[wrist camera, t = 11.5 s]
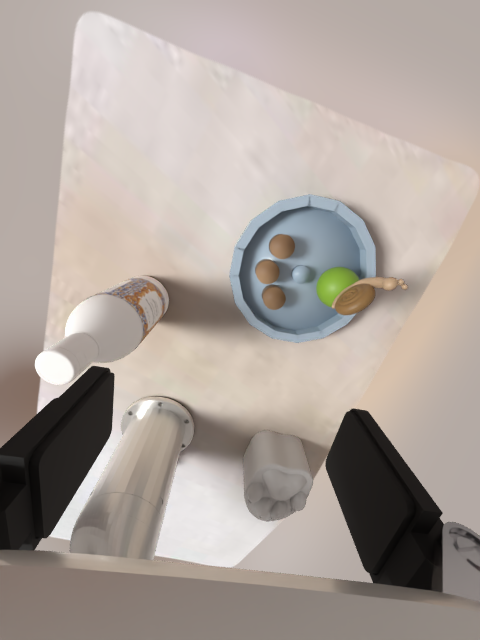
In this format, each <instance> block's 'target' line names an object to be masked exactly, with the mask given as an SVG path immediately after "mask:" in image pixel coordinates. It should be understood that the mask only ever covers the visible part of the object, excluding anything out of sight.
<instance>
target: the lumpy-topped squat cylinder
mask: <svg viewBox="0 0 480 640" xmlns="http://www.w3.org/2000/svg"><path fill="white" fill-rule="evenodd" d="M243 473H244V498H245V502H246V505H247V507H248V509H249V511H250V512H251V513H252V514H253V515H254V516H255V517H256V518H258V519H260V520H263V521H274V520H280V519H282V518H285V517H287V516H289V515H290V514H293V513H294V512H296V511H300V510H302V509H303V508H304V507H305V504H306V499H307V497H308V495H309V492H310V490H311V487H312V484H313V477H312V474H311V471H310V468H309V464H308V461H307V458H306V455H305V451H304V448H303V445H302V442H301V440H300V439H299V438H298V437H296V436H292V435H283V434H279V433H276V432H274V431H270V430H264V431H261V432H258V433H257V434H255V435H254V436H253V438H252V439H251V441H250V443H249V445H248V447H247V449H246V451H245V454H244V458H243Z"/></svg>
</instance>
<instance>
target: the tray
mask: <svg viewBox="0 0 480 640" xmlns="http://www.w3.org/2000/svg"><path fill="white" fill-rule="evenodd" d="M277 234H285V235H288V236H290V237H291V238H292V239H293V240H294V243H295V250H294V252H293V254H292V255H291V256H290V257H289V258H286V259H278V258H276V257H275V256H273V255H272V254H271V253H270V251H269V242H270V240H271V238H272V237H273V236H275V235H277ZM263 259H270V260H272V261H273V262H274V263H275V264H276V265H277V266H278V268H279V272H280V273H279V277H278V279H277V280H276V281H275V282H274V283H272V284H274V285H277V286H279V287H280V288H281V290H282V291H283V292H284V294H285V297H286V301H285V303H284V305H283V306H282V307H281V308H280V309H277V310H271V309H269V308H267V307H266V306H265V304H264V302H263V299H262V291H263V289H264V288H265V287H266V286H268V285H271V284H263V283H261V282H260V281H259V280H258V278H257V276H256V273H255V267H256V265H257V263H258V262H259V261H261V260H263ZM334 267H345V268H348V269H350V270H352V271H353V272H354V273H355V274H356V275H357V276H358V278H359V280H361V279H365V278H370V277H376V249H375V245H374V242H373V240H372V238H371V236H370V234H369V232H368V229H367V227H366V225H365V223H364V221H363V220H362V219H361V218H360V217H359V216H358V215H356V214H355V213H354V212H353V211H351V210H350V209H349V208H348V207H347V206H345V205H344V204H343V203H342V202H340V201H337V200H332V199H328V198H324V197H319V196H315V195H311V194H309V195H305V196H300V197H295V198H291V199H286V200H281V201H278V202H276V203H275V204H273V205H272V206H271V207H269V208H268V209H266V210H265V211H264V212H262V213H261V214H259V215H258V216H257V217H255V218H254V219H252V220H251V221H250V222H249V224H248V226H247V227H246V229H245V230H244V232H243V233H242V235H241V237H240V238H239V240H238V241H237V243H236V244H235V248H234V253H233V259H232V264H231V269H230V281H231V286H232V291H233V295H234V300H235V304H236V305H237V307H238V308H239V309H240V311H241V312H242V314H243V315H244V317H245V318H246V319H247V321H248V322H249V324H250V325H251V326H253V327H255V328H256V329H258V330H259V331H261V332H263V333H264V334H266V335H267V336H269V337H271V338H273V339H279V340H284V341H290V342H295V343H299V342H304V341H310V340H315V339H321V338H324V337H326V336H328V335H329V334H331V333H333V332H335V331H336V330H338V329H340V328H342V327H343V326H345V325H347V324H348V323H349V321H350V320H351V319H352V318H353V317H354V316H355V315H356V313H355V314H352V315H341V314H339V313H338V312H337V311H336V310H335V309H332V308H331V307H328V306H326V305H325V304H323V303H322V302H321V301H320V299H319V297H318V295H317V291H316V286H317V282H318V279H319V278H320V276H321V275H322V274H323V273H324V272H325V271H327V270H328V269H331V268H334Z"/></svg>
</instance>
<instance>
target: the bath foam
mask: <svg viewBox="0 0 480 640" xmlns="http://www.w3.org/2000/svg"><path fill="white" fill-rule="evenodd" d="M168 305H169V297H168V293H167V291H166V289H165V288H164V286H163V285H162V284H161V283H160V282H159V281H157V280H156V279H154V278H152V277H149V276H136V277H132V278H130V279H128V280H125V281H123V282H121V283H119V284H117V285H115V286H113V287H110V288H108V289H106V290H104V291H102V292H100V293H98V294H95V295H93V296H91V297H89V298H87V299H86V300H84V301H83V302H82V303H80V304H79V305H78V306H77V307H76V308H75V309H74V310H73V312H72V313H71V315H70V316H69V318H68V321H67V324H66V329H65V338H64V339H62V340H60V341H59V342H57V343H56V344H54V345H53V346H51V347H49V348H48V349H46V350H45V351H43V352H42V353H41V354H39V355H38V357H37V359H36V361H35V368H36V371H37V373H38V374H39V376H40V377H41V378H42V379H44V380H45V381H47V382H49V383H51V384H55V385H64V384H67V383H70V382H71V381H73V380H74V379H75V378H76V377H77V376H78V375H79V374H80V373H81V372H83V371H84V370H85V369H86V368H87V367H88V366H89V365H90V364H91V363H108V362H113V361H116V360H119V359H121V358H123V357H125V356H127V355H128V354H130V353H131V352H132V351H133V350H135V349H136V348H137V347H138V345H139V344H140V343H141V342H142V341H143V339H144V338H145V337H146V336H147V335H148V333H149V332H150V331H151V330H152V329H153V327H154V326H155V325H156V324H157V323H158V321H159V320H160V319H161V318H162V316H163V315H164V314H165V313H166V311H167V309H168Z"/></svg>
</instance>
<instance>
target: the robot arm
mask: <svg viewBox="0 0 480 640" xmlns="http://www.w3.org/2000/svg"><path fill="white" fill-rule="evenodd" d="M113 395H114V373H110V369H109V368H104V367H98V366H92V367H91V368H89V369H88V370H87V371H86V372H85V373H84V374H83V375H82V376H81V377H80V378H79V379H78V380H77V381H76V382H75V383H74V384H73V385H72V386H71V387H69V388H68V389H67V390H66V391H65V392H64V393H63V394H62V395H61V396H60V397H59V398H55V399H54V400H52V401H51V402H50V403H49V404H48V405H46V406H45V407H44V408H43V409H42V410H41V411H40V412H39V413H38V414H37V415H36V416H35V417H34V418H32V419H31V420H30V421H29V422H28V423H27V424H26V425H25V426H24V427H23V428H22V429H21V430H20V431H19V432H17V433H16V434H15V435H14V436H13V437H12V438H11V439H10V440H9V441H8V442H7V443H6V444H4V445H3V446H2V447H1V448H0V640H480V536H479V535H478V534H477V533H475V532H474V531H472V530H471V529H469V528H467V527H465V526H464V525H461V524H459V523H456V522H447V523H445V524H443V522H442V521H441V520H440V516H441V515H442V512H441V510H440V509H439V507H438V506H437V505H436V503H435V502H434V501H433V499H432V498H431V497H430V495H429V494H428V492H427V491H426V490H425V488H424V487H423V486H422V484H421V483H420V482H419V480H418V479H417V477H416V476H415V475H414V473H413V472H412V471H411V469H410V468H409V467H408V465H407V464H406V463H405V461H404V460H403V458H402V457H401V456H400V454H399V453H398V452H397V450H396V449H395V447H394V446H393V445H392V443H391V442H390V441H389V439H388V438H387V437H386V435H385V434H384V432H383V431H382V430H381V429H380V427H379V426H378V424H377V423H376V422H375V420H374V419H373V418H372V416H371V415H370V414H369V412H368V411H365V410H359V409H351V410H350V411H348V412H346V414H345V416H344V418H343V421H342V423H341V425H340V428H339V430H338V433H337V435H336V437H335V440H334V442H333V444H332V447H331V449H330V452H329V454H328V456H327V459H326V470H327V473H328V475H329V478H330V480H331V483H332V486H333V488H334V491H335V494H336V496H337V498H338V501H339V504H340V507H341V509H342V512H343V514H344V517H345V520H346V522H347V525H348V528H349V530H350V533H351V535H352V538H353V541H354V543H355V546H356V549H357V551H358V554H359V556H360V559H361V561H362V564H363V567H364V569H365V570H366V571H367V572H368V573H370V576H371V578H372V581H373V583H367V582H356V581H348V580H339V579H330V578H321V577H312V576H303V575H294V574H284V573H274V572H265V571H255V570H246V569H236V568H226V567H216V566H206V565H197V564H186V563H176V562H165V561H155V560H153V559H154V555H155V551H156V547H157V543H158V539H159V535H160V530H161V526H162V522H163V518H164V514H165V510H166V506H167V502H168V498H169V494H170V490H171V486H172V482H173V478H174V474H175V470H176V466H177V462H178V458H179V454H180V452H181V451H183V450H184V449H185V448H186V447H187V446H188V445H189V444H190V442H191V441H192V438H193V434H194V421H193V418H192V416H191V415H190V413H189V412H188V411H187V409H186V408H185V407H183V406H182V405H181V404H179V403H178V402H176V401H174V400H171V399H168V398H164V397H146V398H143V399H140V400H138V401H136V402H134V403H133V404H132V405H130V406H129V407H128V409H127V410H126V411H125V413H124V415H123V417H122V420H121V431H122V434H123V436H122V438H121V440H120V442H119V444H118V445H117V447H116V449H115V451H114V453H113V454H112V456H111V458H110V460H109V462H108V464H107V465H106V467H105V469H104V471H103V473H102V474H101V476H100V478H99V480H98V482H97V484H96V485H95V487H94V489H93V491H92V493H91V494H90V496H89V498H88V500H87V502H86V504H85V506H84V507H83V509H82V511H81V513H80V515H79V517H78V519H77V521H76V523H75V525H74V528H73V531H72V536H71V541H70V553H64V552H51V551H36V550H35V548H36V547H37V545H38V543H39V542H40V540H41V539H42V538H47V537H48V536H49V535H50V534H51V532H52V531H53V529H54V528H55V526H56V524H57V523H58V521H59V519H60V518H61V516H62V515H63V513H64V511H65V510H66V508H67V506H68V505H69V503H70V501H71V500H72V498H73V496H74V495H75V493H76V491H77V490H78V488H79V487H80V485H81V483H82V482H83V480H84V478H85V477H86V475H87V473H88V472H89V470H90V468H91V467H92V465H93V463H94V462H95V460H96V459H97V457H98V455H99V454H100V452H101V450H102V449H103V447H104V445H105V444H106V442H107V440H108V439H109V437H110V434H111V431H112V416H113Z"/></svg>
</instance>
